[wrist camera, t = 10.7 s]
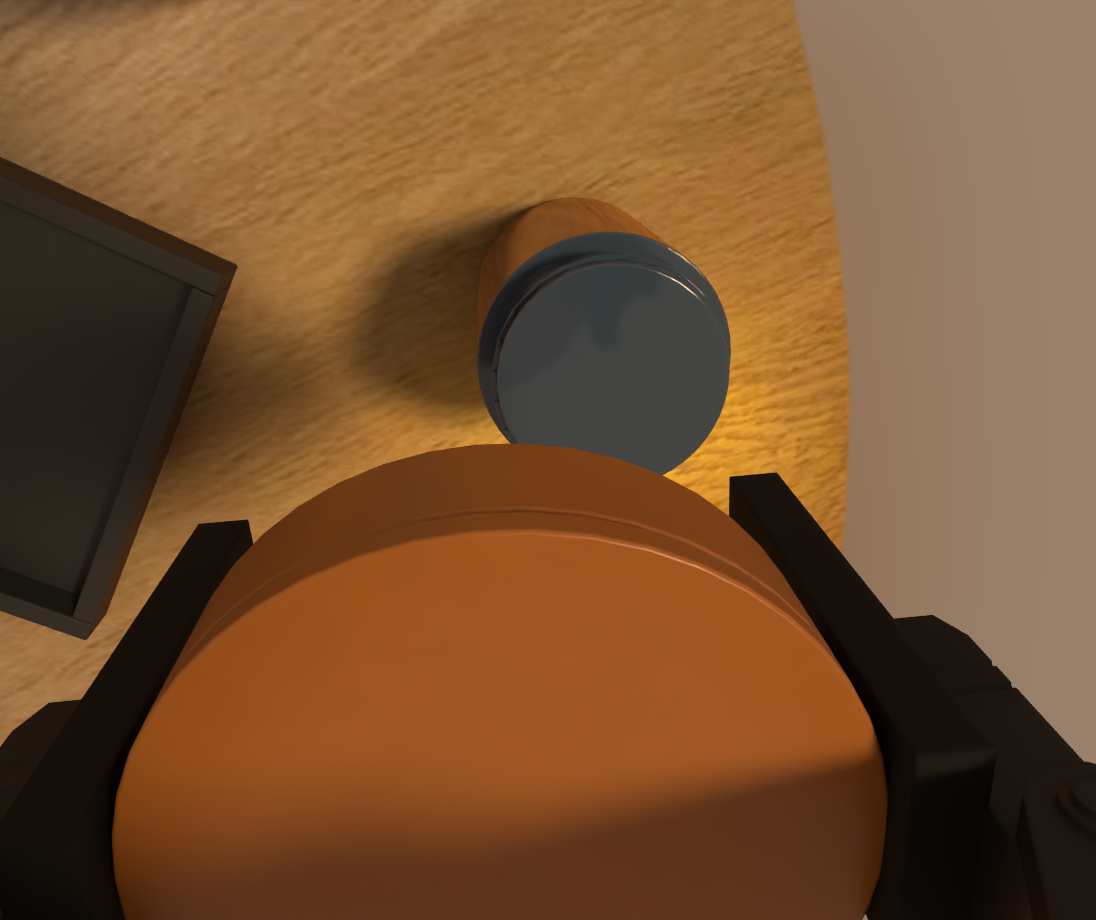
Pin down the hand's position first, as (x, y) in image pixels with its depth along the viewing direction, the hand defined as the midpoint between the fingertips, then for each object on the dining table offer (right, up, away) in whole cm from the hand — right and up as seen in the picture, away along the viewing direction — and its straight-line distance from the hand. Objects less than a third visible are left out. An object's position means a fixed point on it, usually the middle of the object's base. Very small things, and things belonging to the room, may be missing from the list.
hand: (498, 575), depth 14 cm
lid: (0, -2, -5) cm, 6 cm away
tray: (-20, +5, +18) cm, 27 cm away
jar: (+2, +8, +18) cm, 20 cm away
